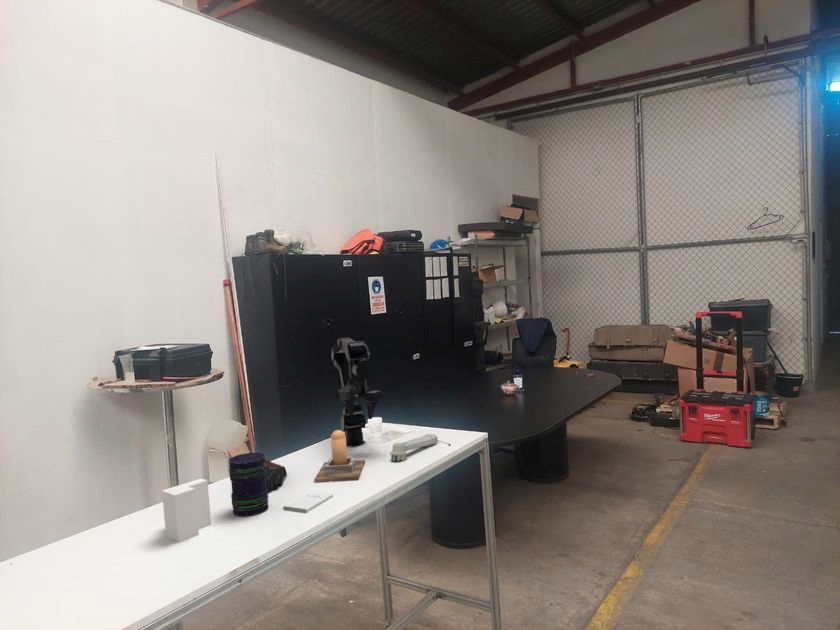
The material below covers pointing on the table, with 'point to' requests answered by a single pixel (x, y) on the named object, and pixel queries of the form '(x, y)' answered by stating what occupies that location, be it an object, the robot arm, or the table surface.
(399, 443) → the grey cylindrical tool
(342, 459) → the ball
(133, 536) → the table surface
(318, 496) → the external hard drive
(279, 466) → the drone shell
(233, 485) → the storage jar
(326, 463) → the jig
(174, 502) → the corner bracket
